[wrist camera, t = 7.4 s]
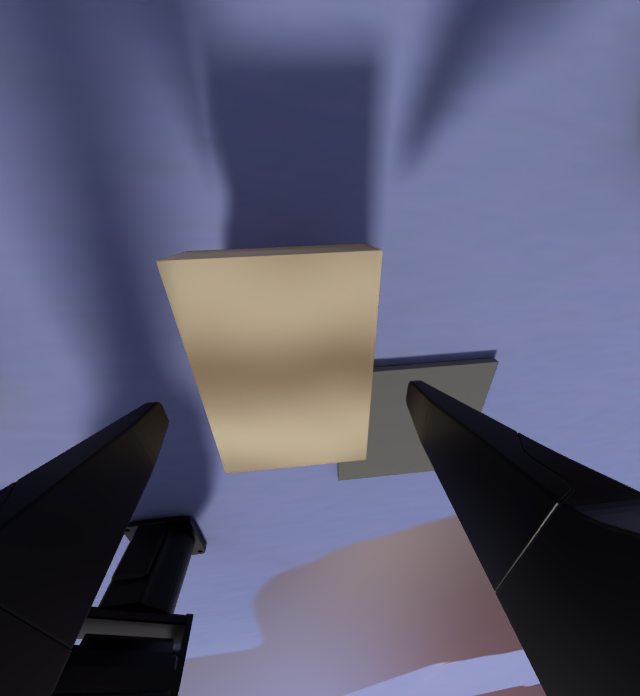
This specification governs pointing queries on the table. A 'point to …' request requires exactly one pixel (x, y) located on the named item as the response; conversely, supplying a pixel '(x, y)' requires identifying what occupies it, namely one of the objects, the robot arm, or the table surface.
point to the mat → (395, 420)
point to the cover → (280, 348)
